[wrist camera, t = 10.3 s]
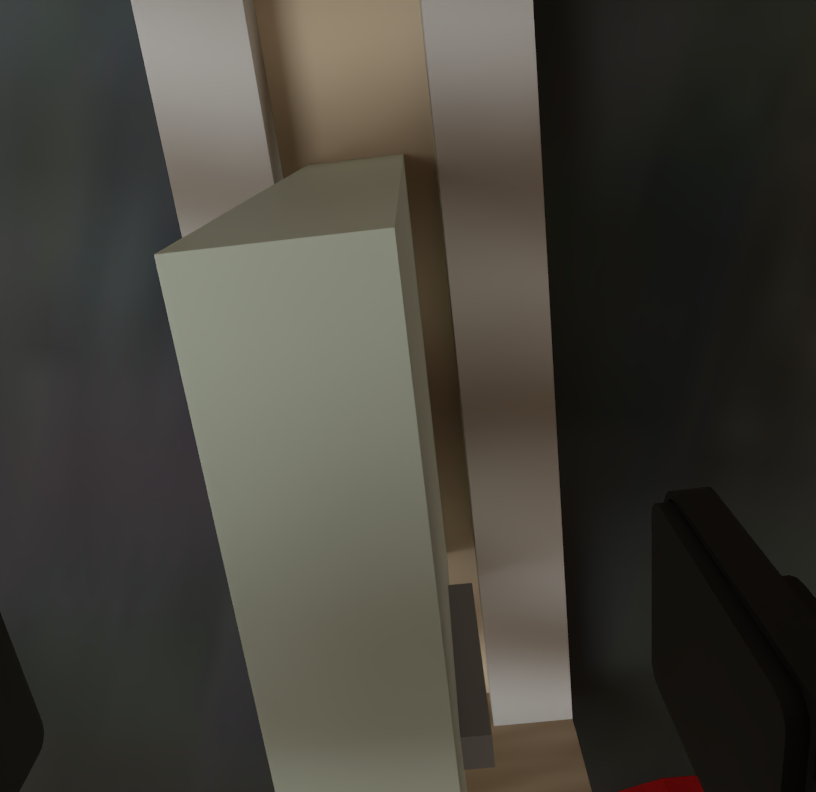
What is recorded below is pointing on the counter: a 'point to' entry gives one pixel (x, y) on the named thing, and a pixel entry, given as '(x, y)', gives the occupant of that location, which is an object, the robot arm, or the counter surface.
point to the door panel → (330, 481)
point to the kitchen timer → (669, 785)
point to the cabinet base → (418, 275)
